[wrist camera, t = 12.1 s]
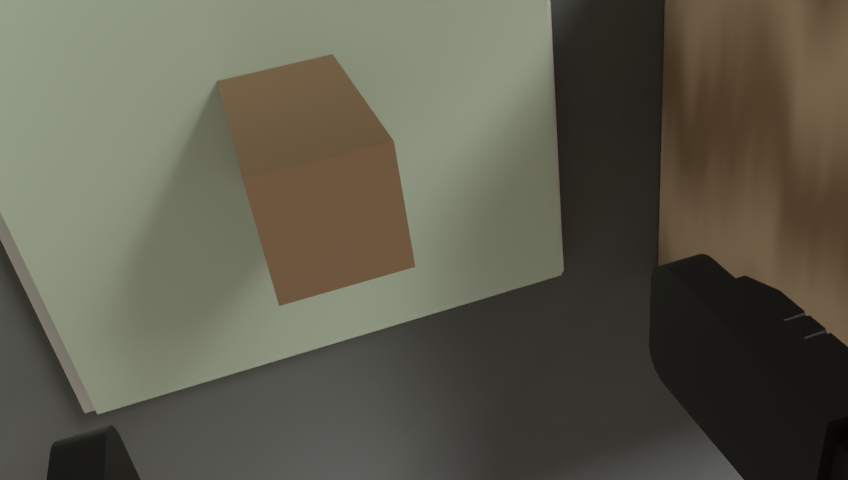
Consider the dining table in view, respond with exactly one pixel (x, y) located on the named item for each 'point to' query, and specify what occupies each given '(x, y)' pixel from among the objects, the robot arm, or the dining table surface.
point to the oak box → (759, 145)
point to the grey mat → (3, 234)
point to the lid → (269, 173)
